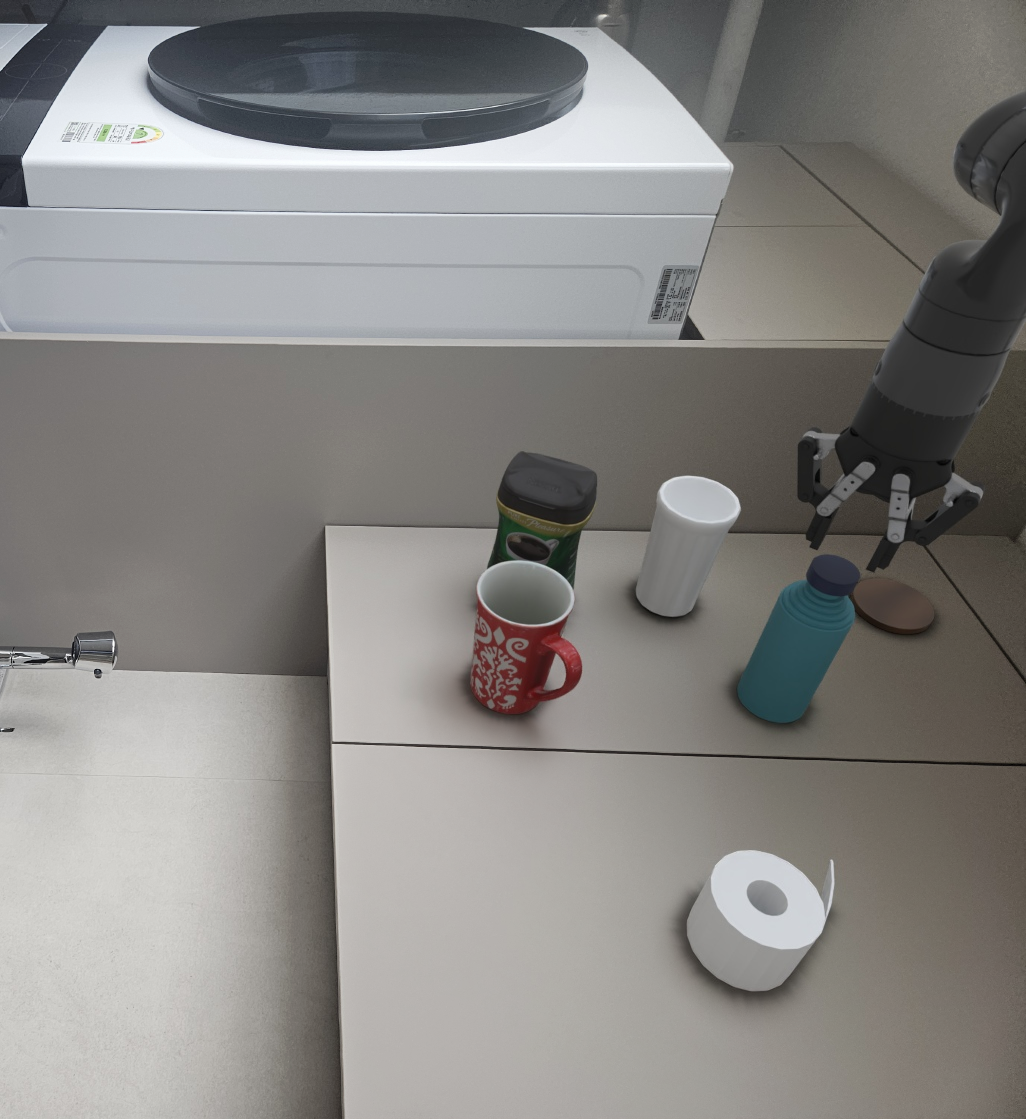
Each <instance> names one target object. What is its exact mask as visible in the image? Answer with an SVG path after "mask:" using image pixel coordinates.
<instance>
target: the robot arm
mask: <svg viewBox="0 0 1026 1119" xmlns="http://www.w3.org/2000/svg"><path fill="white" fill-rule="evenodd" d="M951 164H952V172H953V176H954V178H955V180H956V182H957V183H958V185H959V186H960V188H961V189H962V190H963V191H964V192H965V193H966V194H967V195H968V196H970V197H971V198H973V199H974V200H976V201H977V202H978V203H980V204H982V205H983V206H984V207H986V208H987V209H989V210H991V211H992V212H993V213H995V214H996V215H998V216H1000V219H999V221H998V224H997V225H996V228H995V229H994V230H993V232H992V234H991V235H990V236H989V238H988V239H963V240H959V241H955V242H953V243H950V244H948V245H946V246H945V247H943V248H942V249H940V250H939V251H938V253H937V254H935V256H933V258H932V260H931V261H930V263H929V265H928V266H927V268H926V271H925V272H924V274H923V276H922V278H921V281H920V282H919V284H918V287H917V289H916V291H915V293H914V295H913V298H912V300H911V302H910V304H909V306H908V308H907V310H906V313H905V315H904V317H903V319H902V321H901V323H900V325H899V326H898V328H897V329H896V331H895V332H894V334H893V335H892V337H891V339H890V340H889V342H888V343H887V345H886V347H885V350H884V351H883V354H882V356H881V358H880V359H879V360H878V361H877V363H876V365H875V367H874V372H873V376H872V378H871V380H870V382H869V384H868V385H867V386H868V387H867V388H866V390H865V393H864V394H863V397H862V400H861V402H860V404H859V406H858V408H857V410H856V412H855V415H854V416H853V419H852V421H851V423H850V425H849V426H847V427H846V428H844V429H843V430H842V431H841V432H840V433H827V432H826V433H825V432H823V431H822V430H821V428H818V427H817V426H811V427H810V428H808V429H807V430H806V432H805V433H804V434H803V436H802V437H801V438H800V440H799V442H798V444H797V480H796V481H797V482H796V483H797V490H796V491H797V492H796V494H797V495H796V496H797V499H798V500H799V501H800V502H802V503H804V504H805V503H809V504H810V505H811V506H812V507H813V508H814V510H815V512H814V515H813V518H812V519H811V522H810V524H809V526H808V528H807V530H806V533H805V540H806V541H808V542H810V544H809V547H808V548H809V549H812V550H815V551H818V550H819V549H820V547H821V545H822V544H823V542H824V540H825V538H826V536H827V534H828V532H829V530H830V528H831V527H832V526H831V525H832V524H833V522H834V520H835V518H836V515H837V514H838V511H839V509H840V506H841V504H843V503H845V502H846V501H847V500H848V499H849V498H850V497H851V496H852V495H853V494H854V493H855V492H857V493H860V494H862V495H872V496H874V497H876V498H878V499H879V500H880V501H881V502H885V503H887V504H889V506H888V514H887V519H888V524H887V528H886V530H885V532H884V533H883V536H882V538H881V539H880V541H879V543H878V545H877V547H876V548H875V551H874V552H873V555H872V556H871V558H870V560H869V562H868V564H867V565H866V568H865V571H868V572H871V573H875V572H876V570H877V568H878V569H880V570H885V569H886V568H888V567H889V566H890V564H891V563H892V561H893V558H895V555H896V553H897V552H898V549H899V548H900V546H901V545H902V544H903V543H906V542H913V543H914V544H917V545H918V546H920V547H927V546H929V545H931V544H932V543H933V542H935V540H937V539H938V538H940V537H941V536H942V535H944V534H945V533H946V532H947V531H948V530H950V529H951V528H952V527H953V526H955V525H956V524H957V523H959V522H960V521H961V520H963V519H964V518H965V517H966V516H968V515H969V514H971V512H973V511H974V510H976V509H977V508H978V507H979V505H980V502H981V500H982V498H983V495H984V494H985V490H986V486H985V484H984V483H983V482H981V481H977V480H974V481H970V482H969V481H967V480H966V479H964V478H963V477H961V476H960V475H958V474H957V473H955V472H956V465H955V458H956V455H957V454H958V452H959V451H960V449H961V446H962V445H963V444H964V441H965V439H966V438H967V436H968V434H969V433H970V431H971V429H972V427H973V425H974V423H975V422H976V419H978V417H979V415H980V413H981V411H982V409H983V408H984V405H985V404H986V403H987V402H989V400H990V398H991V394H992V391H993V389H994V388H995V386H996V385H997V382H998V380H999V378H1000V377H1001V374H1002V372H1003V370H1004V367H1005V363H1006V362H1007V358H1008V356H1009V353H1010V351H1011V349H1012V347H1013V345H1014V343H1015V342H1016V340H1017V338H1018V337H1019V334H1020V333H1021V331H1022V329H1023V327H1024V325H1025V324H1026V89H1025V90H1022V91H1019V92H1015V93H1014V94H1012V95H1010V96H1007V97H1005V98H1004V99H1001V100H999V101H998V102H996V103H994V104H992V105H991V106H989V107H988V108H986V109H985V110H984V111H983V112H981V113H980V114H979V115H978V116H977V117H975V119H974V120H972V121H971V123H969V125H968V126H967V127H966V128H965V130H963V132H962V134H961V135H960V137H959V138H958V141H957V142H956V145H955V147H954V150H953V153H952V162H951ZM833 450H835V453H836V456H837V459H838V461H839V465H840V467H841V469H842V473H843V474H841V476H840V477H839V478H838V479H837V481H836V482H834V484H833V485H831V487H830V488H829V489H828V488H827V487H826V486H824V485H823V484H822V480H823V479H822V476H823V474H822V473H823V460H824V459H826V458H827V456H828V454H829V453H830V452H831V451H833ZM942 487H944V489H945V493H944V495H943V497H942V502H943V504H941V505H940V506H939V507H937V508H936V509H935V510H933V512H931V513H930V514H929V515H927V516H926V517H925V518H924V519H922V520H917V519H913V514H914V507H915V504H916V499H917V498H919V497H921V496H923V495H926V494H929V493H930V492H932V491H935V490H938V489H941V488H942Z"/></svg>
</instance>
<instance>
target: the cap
mask: <svg viewBox="0 0 1026 1119" xmlns="http://www.w3.org/2000/svg"><path fill="white" fill-rule="evenodd" d="M860 579H861V572H860V569H859V568H858V567H857V566H856V565H855V564H854V563H853V562H852V561H850V560H849V559H846V558H844V557H842V556H839V555H836V554H827V553H825V554H819V555H817V556H815V557H813V559H812V560H811V562H810V564H809V566H808V568H807V571H806V572H805V580H807V581H808V583H809V584H810V585H811V586H812V587H813V588H815V589H816V590H818V591H819V592H821V593H824V594H827V595H830V596H838V597H839V596H846V595H847V596H849V595H851V594H852V592H853V590H854V588H855V586H856V585H857V584H858V583H859V582H860Z"/></svg>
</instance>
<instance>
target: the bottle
mask: <svg viewBox="0 0 1026 1119" xmlns="http://www.w3.org/2000/svg"><path fill="white" fill-rule="evenodd" d="M855 611H856V610H855V609H854V606H853V604H852V602H851V598H849V595H846V596H839V597H838V596H830V595H827V594H824V593H821V592H819V591H818V590H816V589H815V588H813V587H812V586H811V585H810V584H809V583H808V581H807V579H802V580H796V581H793V582H791V583H789V584H788V585H787V586H785V587H784V588H782V590H781V591H780V593H779V595H778V597H777V599H776V601H775V604H774V606H773V608H772V610H771V613H770V614H769V617H768V619H767V621H766V623H765V625H764V628H763V630H762V631H761V635H760V636H759V638H758V640H757V643H756V645H755V647H754V649H753V651H752V653H751V655H750V658H749V659H748V662H747V664H746V666H745V668H744V670H743V673H742V674H741V677H740V679H739V681H738V683H737V687H736V692H737V696H738V700H739V701H740V702H741V704H742V705H743V706H744V708H746V709H747V711H749V712H750V713H752V714H753V715H755V716H756V717H758V718H760V719H762V720H765V721H767V722H771V723H777V724H788V723H793V722H795V721H798V720H799V719H800V718H802V716H803V715H804V714H805V712H806V710H807V708H808V706H809V704H810V703H811V701H812V699H813V697H814V695H815V694H816V692H817V690H818V689H819V686H820V685H821V683H822V681H823V679H824V677H825V676H826V673H828V670H829V668H830V666H831V665H832V664H833V661H834V659H835V658H836V655H837V654H838V652H839V651H840V648H841V647H842V645H843V643H844V641H845V639H846V638H847V636H848V634H849V632H850V630H851V628H852V626H853V625H854V623H855V620H856V612H855Z"/></svg>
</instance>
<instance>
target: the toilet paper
mask: <svg viewBox="0 0 1026 1119" xmlns="http://www.w3.org/2000/svg"><path fill="white" fill-rule="evenodd" d="M834 866H835V865H834V860H833V859H830V860H829V865H828V868H827V872H826V875H825V878H824V882H823V887H822V890H821V894H819V891H818V889H817V888H816V886H815V885H814V884H813V883H812V881H811V880H810V879H809V878H808V876H806V874H805V873H803V872H802V871H801V870H800V869H798V868H797V867H796V866H795V865H793V864H792V863H790V862H789V861H787V860H785V859H783V858H781V857H779V856H777V855H775V854H772V853H769V852H765V851H760V850H756V849H750V850H748V849H746V850H737V851H734V852H731V853H729V854H726V855H724V856H723V857H722V858H721V859H720V860H719V861H718V862H717V863H716V864H715V865H714V867H713V868H712V870H711V872H710V874H709V876H708V878H707V880H706V882H705V883H704V885H703V886H702V889H701V891H700V893H699V894H698V896H697V898H696V899H695V902H694V903H693V905H692V907H691V909H690V911H689V914H688V916H687V920H686V936H687V940H688V942H689V944H690V948H691V950H692V952H693V953H694V955H695V956H696V958H697V959H698V960H699V962H700V964H701V965H702V966H703V968H705V969H706V970H707V971H709V972H710V973H711V974H712V975H713V976H714V977H715V978H717V979H718V980H720V981H722V982H724V983H726V984H727V985H730V986H731V987H733V988H736V989H739V990H744V991H748V992H768V991H770V990H772V989H775V988H777V987H780V986H781V985H782V984H783V983H784V982H785V981H786V980H787V979H788V978H789V976H790V975H791V974H792V973H793V972H794V970H795V969H796V968H797V966H798V965H799V964H800V962H801V961H802V960H803V959H804V957H805V955H806V954H807V953H808V952H809V951H810V949H811V948H812V946H813V945H814V944H815V942H816V941H817V940H818V938H819V937H820V936H821V934H822V933H823V931H824V927H825V924H826V921H827V919H828V915H829V913H830V911H831V907H832V903H833V896H834V891H835V890H834V889H835V867H834Z"/></svg>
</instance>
